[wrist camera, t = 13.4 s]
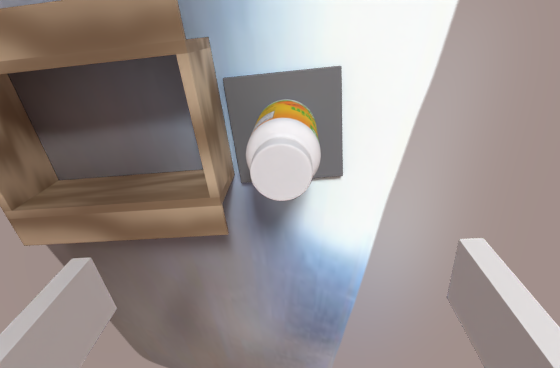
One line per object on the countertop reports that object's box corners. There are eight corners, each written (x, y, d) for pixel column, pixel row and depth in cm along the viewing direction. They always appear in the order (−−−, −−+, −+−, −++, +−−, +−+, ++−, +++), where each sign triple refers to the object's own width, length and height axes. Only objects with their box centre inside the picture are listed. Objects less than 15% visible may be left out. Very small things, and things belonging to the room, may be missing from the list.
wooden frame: (-27, 23, 26) (-111, 23, 20) (200, -6, 24) (172, -15, 19) (66, 211, 34) (24, 245, 29) (239, 200, 32) (227, 234, 27)
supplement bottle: (328, 130, 28) (342, 177, 19) (285, 166, 30) (279, 224, 21) (288, 84, 26) (283, 113, 17) (244, 126, 28) (221, 171, 19)
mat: (224, 77, 27) (222, 78, 26) (340, 65, 26) (341, 66, 25) (242, 180, 31) (241, 182, 31) (341, 173, 30) (342, 175, 30)
